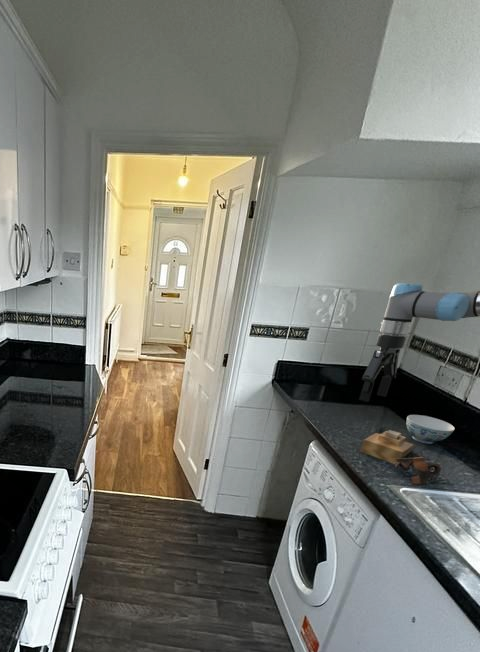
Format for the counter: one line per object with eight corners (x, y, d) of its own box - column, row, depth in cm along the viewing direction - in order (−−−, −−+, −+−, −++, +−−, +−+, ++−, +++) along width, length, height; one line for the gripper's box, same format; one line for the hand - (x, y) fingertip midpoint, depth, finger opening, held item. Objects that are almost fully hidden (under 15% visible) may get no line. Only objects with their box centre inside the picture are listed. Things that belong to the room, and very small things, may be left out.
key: (399, 437, 146) (401, 433, 146) (396, 440, 144) (397, 435, 143) (388, 434, 149) (389, 429, 148) (384, 436, 147) (386, 432, 146)
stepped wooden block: (408, 457, 147) (415, 439, 144) (397, 465, 140) (405, 447, 138) (371, 445, 155) (377, 428, 153) (359, 452, 149) (365, 434, 146)
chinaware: (398, 429, 171) (405, 411, 168) (442, 439, 165) (451, 421, 162) (401, 441, 160) (409, 423, 156) (449, 453, 153) (458, 434, 150)
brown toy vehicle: (402, 485, 129) (399, 458, 130) (390, 483, 138) (387, 458, 139) (448, 483, 126) (445, 456, 126) (433, 481, 135) (429, 456, 135)
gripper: (395, 331, 142) (376, 391, 150) (362, 334, 128) (343, 399, 136) (420, 334, 137) (400, 396, 144) (389, 338, 123) (368, 406, 130)
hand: (372, 398), depth 140 cm, fingers open, 13 cm apart
